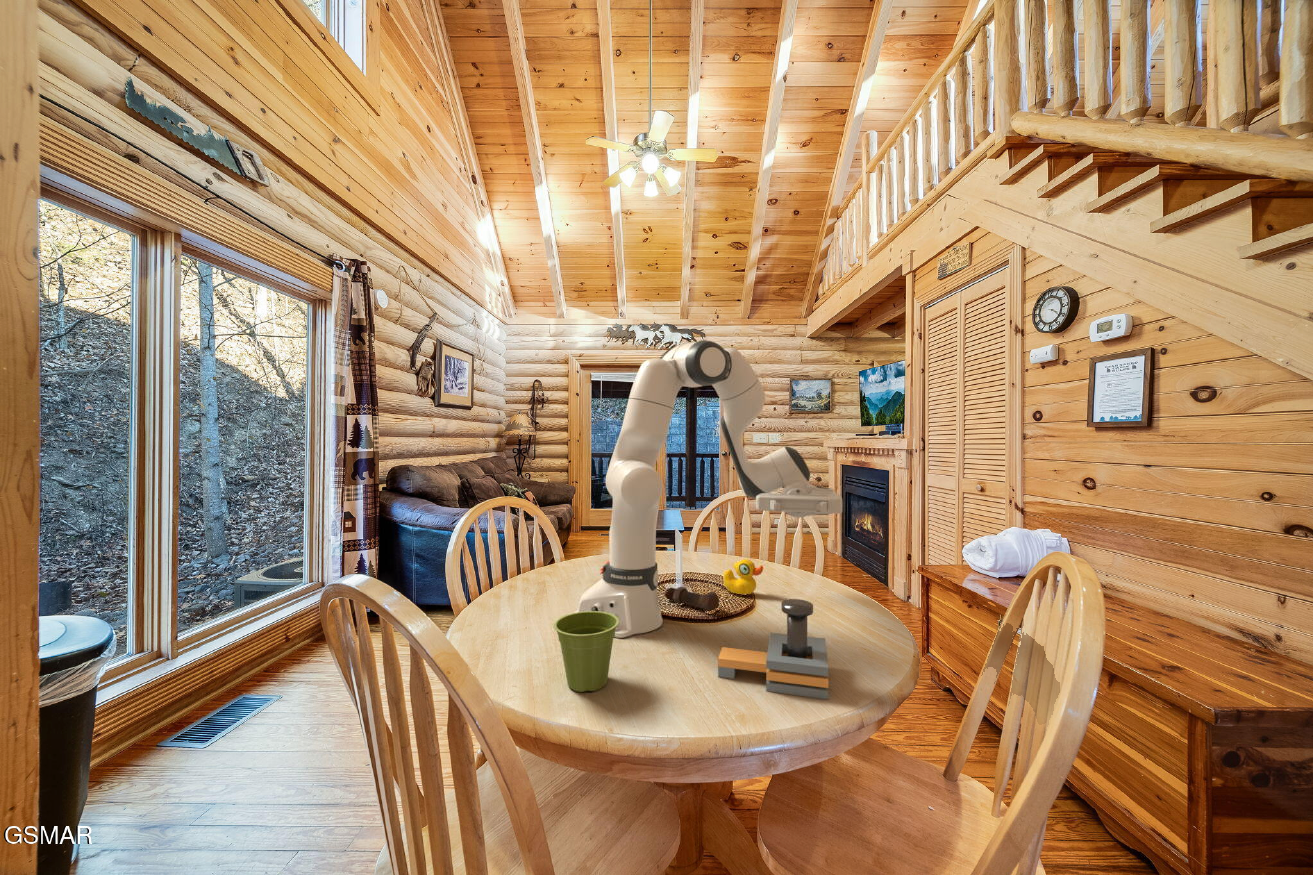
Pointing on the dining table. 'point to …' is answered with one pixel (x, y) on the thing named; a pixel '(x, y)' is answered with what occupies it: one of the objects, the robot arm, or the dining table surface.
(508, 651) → the dining table surface
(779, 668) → the bracket
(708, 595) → the bolt
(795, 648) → the pin
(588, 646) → the plant pot
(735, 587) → the duckling
